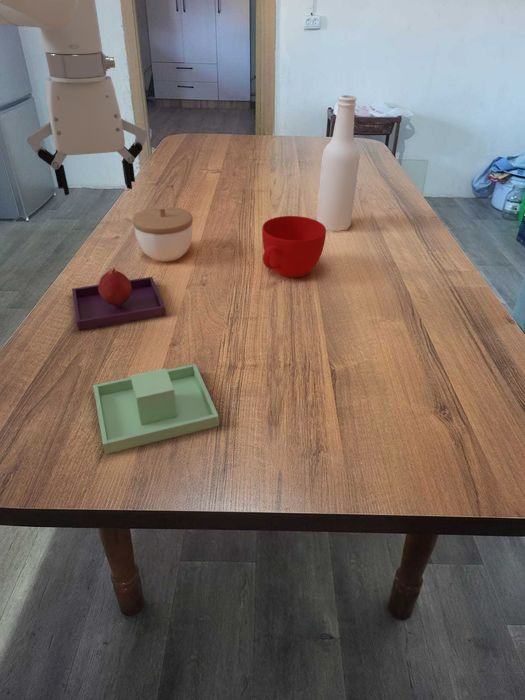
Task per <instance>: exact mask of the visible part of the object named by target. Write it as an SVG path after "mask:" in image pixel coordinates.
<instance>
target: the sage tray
mask: <svg viewBox="0 0 525 700" xmlns="http://www.w3.org/2000/svg"><path fill="white" fill-rule="evenodd" d="M167 371H168V374H169V377H170V380H171V383H172V385H173V388H174V394H175V403H176V412H177V417H173V418H169V419H165V420H160V421H156V422H152V423H148V424H144V425H141V423H140V419H139V415H138V411H137V408H136V404H135V399H134V393H133V387H132V382H131V376H130V377H129V376H128V377H125V378H120V379H115V380H111V381H105V382H101V383H95V384H93V386H92V387H93V393H94V399H95V405H96V412H97V417H98V423H99V424H98V425H99V430H100V435H101V442H102V447H103V451H104V454H105V455H109V454H113V453H117V452H120V451H124V450H129V449H132V448H137V447H140V446H144V445H148V444H152V443H158V442H161V441H165V440H169V439H172V438H176V437H180V436H185V435H188V434H193V433H197V432H200V431H204V430H209V429H212V428H216V427H219V426H220V415H219V413H218V411H217V409H216V407H215V404H214V402H213V400H212V398H211V397H212V396H211V395H210V393H209V390H208V388H207V386H206V384H205V382H204V378H203V377H202V375H201V373H200V372H201V371H200V370H199V368H198V365H197V363H192V364H188V365H183V366H178V367H173V368H168V369H167Z"/></svg>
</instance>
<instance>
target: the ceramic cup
mask: <svg viewBox="0 0 525 700" xmlns="http://www.w3.org/2000/svg"><path fill="white" fill-rule="evenodd" d="M261 229H262V230H261V233H262V234H261V236H262V247H263V255H262V262H263V265H264V267H265V268H266V269H269V270H273V271H274V272H275V273H276V274H277V275H279V276H281V277H284V278H288V279H297V278H302V277H304V276H306V275H308V273H310V272H311V271H312V270H313V269H315V267H316V265H317V264H318V263H319V261H320V259H321V256H322V254H323V251H324V247H325V243H326V237H327V236H326V235H327V230H326V228H325V226H324V225H323V224H322V223H320V222H318V221H316V219H313V218H310V217H306V216H298V215H283V216H278V217H277V216H276V217H273V218H270V219H268V220H266V221H265V222H264V223H263V224H262V228H261Z"/></svg>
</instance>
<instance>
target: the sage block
mask: <svg viewBox="0 0 525 700" xmlns="http://www.w3.org/2000/svg"><path fill="white" fill-rule="evenodd" d="M167 370H168V369H167V367H163V368H158V369H154V370H149V371H143V372H140V373H139V372H138V373H134V374H131V375H130V377H131V382H132V387H133V393H134V399H135V404H136V408H137V411H138V415H139V419H140V423H141V425H144V424H148V423H152V422H156V421H160V420H165V419H169V418H173V417H177V412H176V403H175V394H174V388H173V385H172V383H171V380H170V377H169V374H168V371H167Z"/></svg>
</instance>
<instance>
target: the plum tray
mask: <svg viewBox="0 0 525 700" xmlns="http://www.w3.org/2000/svg"><path fill="white" fill-rule="evenodd" d="M129 281H130V283H131V287H132V293H131V295H130V297H129V299H128V300H127V301H126V302H125V303H124V304H123V305H122V306H120V307H116V306H114V305H111V304H109V303H107V302H105V301H104V300H103V299H102V298H101V296H100V293H99V291H98V286H99V284H94V285H87V286H81V287H80V286H79V287H75V288H74V287H73V288H71V294H72V300H73V306H74V313H75V321H76V326H77V329H78V331H79V332H82V331H87V330H93V329H99V328H103V327H104V328H105V327H109V326H116V325H120V324H126V323H132V322H138V321H143V320H149V319H155V318H160V317H166V316H167V313H166V306H165V304H164V302H163V299H162V297H161V294H160V291H159V290H158V287H157V285H156V282H155V280H154V278H153V276H147V277H140V278H133V279H129Z"/></svg>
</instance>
